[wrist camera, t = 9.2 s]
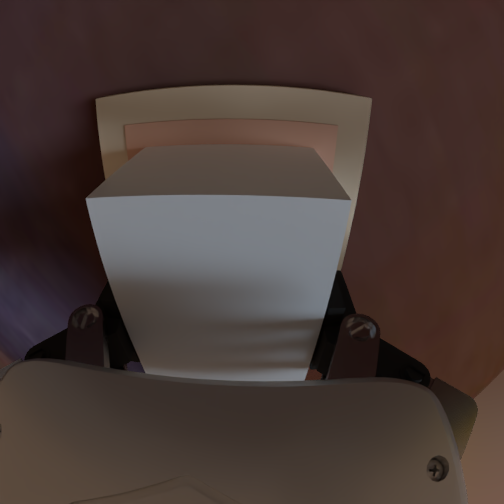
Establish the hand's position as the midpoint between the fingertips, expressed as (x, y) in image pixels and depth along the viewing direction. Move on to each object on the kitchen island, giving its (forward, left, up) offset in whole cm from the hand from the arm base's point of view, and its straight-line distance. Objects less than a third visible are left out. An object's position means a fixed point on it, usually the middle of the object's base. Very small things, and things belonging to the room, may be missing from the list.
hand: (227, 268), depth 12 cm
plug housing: (0, 0, -1) cm, 1 cm away
